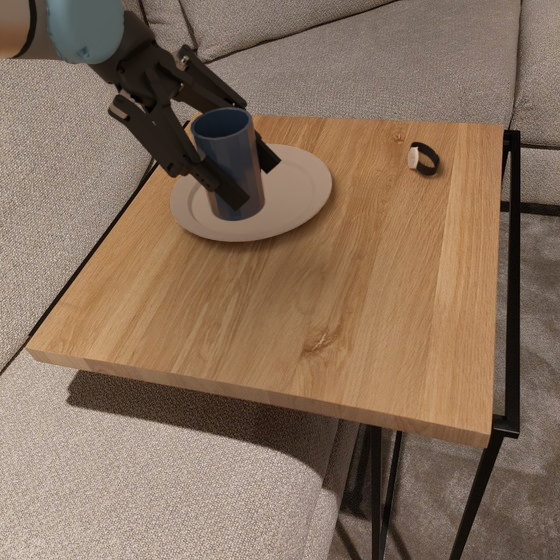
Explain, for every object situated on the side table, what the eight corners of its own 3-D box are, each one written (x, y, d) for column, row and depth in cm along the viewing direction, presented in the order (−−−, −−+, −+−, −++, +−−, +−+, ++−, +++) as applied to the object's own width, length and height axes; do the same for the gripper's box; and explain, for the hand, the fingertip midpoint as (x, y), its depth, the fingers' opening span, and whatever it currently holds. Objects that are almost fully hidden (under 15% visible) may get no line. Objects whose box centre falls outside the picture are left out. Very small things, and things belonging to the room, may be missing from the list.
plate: (214, 147, 105) (212, 137, 104) (352, 161, 97) (352, 151, 95) (142, 236, 89) (138, 226, 87) (300, 264, 80) (299, 253, 79)
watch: (402, 155, 96) (402, 136, 94) (430, 150, 96) (431, 131, 94) (415, 181, 91) (416, 161, 88) (445, 176, 91) (447, 156, 88)
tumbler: (200, 216, 70) (179, 136, 63) (225, 184, 75) (207, 105, 67) (252, 225, 68) (235, 142, 60) (274, 191, 72) (261, 109, 65)
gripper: (50, 50, 54) (231, 223, 59) (171, -24, 66) (314, 125, 71) (33, 97, 60) (199, 251, 65) (147, 21, 72) (280, 155, 76)
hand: (258, 185), depth 68 cm, fingers closed on tumbler, 7 cm apart
